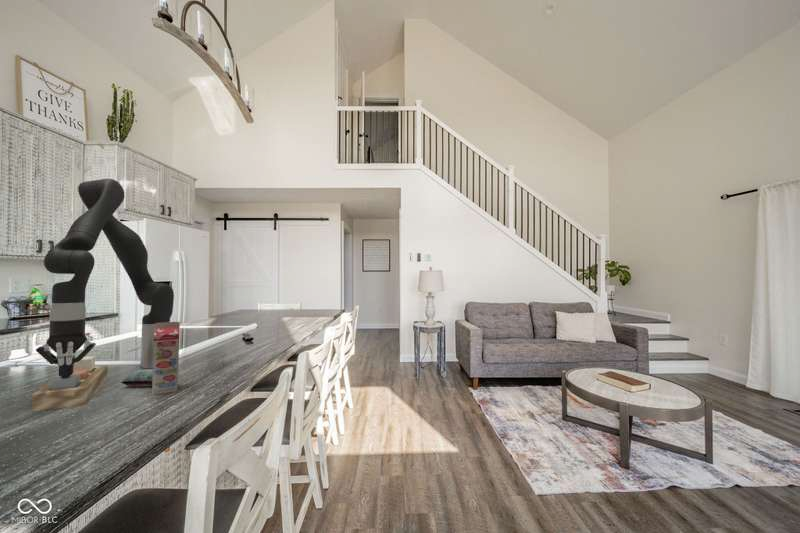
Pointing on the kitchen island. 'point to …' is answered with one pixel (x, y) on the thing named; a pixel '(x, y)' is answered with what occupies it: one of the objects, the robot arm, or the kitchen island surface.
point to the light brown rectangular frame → (70, 392)
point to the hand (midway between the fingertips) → (65, 377)
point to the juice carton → (165, 357)
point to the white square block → (85, 364)
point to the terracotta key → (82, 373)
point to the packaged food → (139, 378)
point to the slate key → (66, 382)
